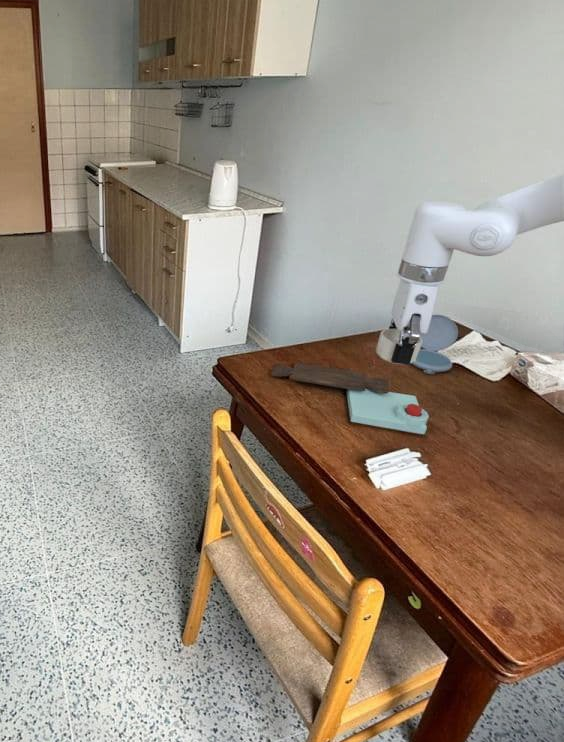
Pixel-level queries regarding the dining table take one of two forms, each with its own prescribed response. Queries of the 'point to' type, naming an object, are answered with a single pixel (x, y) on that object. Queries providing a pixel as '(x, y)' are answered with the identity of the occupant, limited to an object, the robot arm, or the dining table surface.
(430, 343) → the open compact mirror
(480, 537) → the dining table surface
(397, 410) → the scale
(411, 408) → the tare button
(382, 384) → the dark wooden board
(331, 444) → the dining table surface
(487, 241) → the robot arm
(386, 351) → the bowl
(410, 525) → the dining table surface
